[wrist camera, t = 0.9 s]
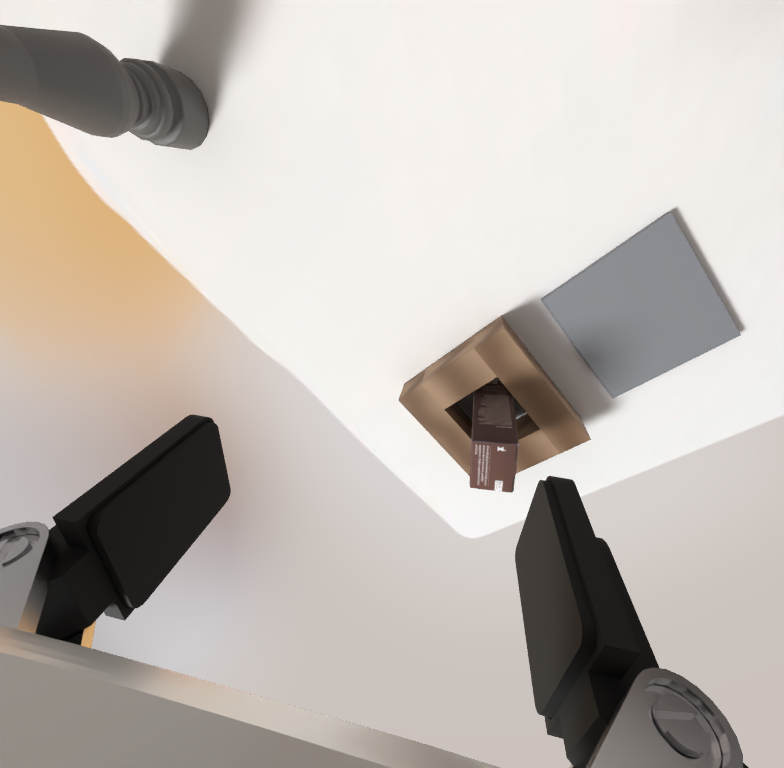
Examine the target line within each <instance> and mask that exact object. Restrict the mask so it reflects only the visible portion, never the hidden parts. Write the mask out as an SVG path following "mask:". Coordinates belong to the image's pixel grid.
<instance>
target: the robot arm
mask: <svg viewBox="0 0 784 768" xmlns="http://www.w3.org/2000/svg"><path fill="white" fill-rule="evenodd" d="M230 491H231V490H230V484H229V480H228V474H227V469H226V464H225V459H224V454H223V449H222V444H221V439H220V435H219V430H218V426H217V425H216V424H215V423H214V421H213V420H212V419H211V418H209V417H203V416H197V415H189V416H187V417H186V418H184V419H183V420H182V421H180V422H179V423H178V424H177V425H175V426H174V427H172V428H171V429H170V430H169V431H167V432H166V433H164V434H163V435H162V436H161V437H159V438H158V439H156V440H155V441H154V442H152V443H151V444H150V445H148V446H147V447H146V448H144V449H143V450H142V451H141V452H139V453H138V454H137V455H135V456H134V457H132V458H131V459H130V460H128V461H127V462H126V463H124V464H123V465H122V466H120V467H119V468H118V469H116V470H115V471H114V472H112V473H111V474H110V475H108V476H107V477H106V478H104V479H103V480H102V481H100V482H99V483H98V484H96V485H95V486H94V487H92V488H91V489H90V490H89V491H87V492H86V493H84V494H83V495H82V496H80V497H79V498H78V499H76V500H75V501H74V502H72V503H71V504H70V505H69V506H67V507H66V508H64V509H63V510H62V511H60V512H59V513H58V514H56V515H55V516H54V517H53V519H54V521H55V523H56V525H55V526H54V527H53V528H51V529H50V530H49V529H48V528H47V526H46V525H45V524H42V523H39V522H25V523H19V524H14V525H12V526H8V527H6V528H3V529H0V768H499V767H496V766H493V765H490V764H487V763H484V762H480V761H477V760H474V759H471V758H467V757H464V756H461V755H458V754H455V753H452V752H448V751H445V750H442V749H439V748H436V747H433V746H429V745H426V744H422V743H419V742H416V741H412V740H409V739H405V738H402V737H398V736H395V735H392V734H388V733H385V732H382V731H378V730H374V729H371V728H368V727H364V726H361V725H358V724H354V723H351V722H347V721H344V720H340V719H337V718H334V717H330V716H327V715H323V714H320V713H317V712H313V711H309V710H306V709H303V708H299V707H296V706H292V705H289V704H285V703H281V702H278V701H275V700H271V699H268V698H264V697H261V696H257V695H254V694H250V693H247V692H243V691H240V690H236V689H233V688H230V687H226V686H223V685H219V684H215V683H212V682H209V681H205V680H201V679H198V678H195V677H191V676H188V675H184V674H181V673H177V672H173V671H170V670H166V669H162V668H159V667H156V666H152V665H148V664H145V663H141V662H137V661H134V660H130V659H127V658H124V657H120V656H116V655H113V654H109V653H106V652H102V651H99V650H95V649H91V646H92V641H93V634H94V628H95V622H96V619H97V618H98V617H99V616H100V615H101V614H102V613H103V612H104V613H105V615H106V616H110V617H114V618H117V619H121V620H126V618H127V617H128V616H129V615H130V614H131V612H132V611H133V610H134V609H135V608H138V607H140V606H141V605H143V604H144V602H145V601H146V600H147V599H148V598H149V597H150V595H151V594H152V593H153V592H154V591H155V589H156V588H157V587H158V585H159V584H160V583H161V582H162V581H163V579H164V578H165V577H166V576H167V574H168V573H169V572H170V571H171V570H172V568H173V567H174V566H175V565H176V564H177V562H178V561H179V560H180V558H181V557H182V556H183V555H184V554H185V552H186V551H187V550H188V549H189V548H190V546H191V545H192V544H193V543H194V541H195V540H196V539H197V538H198V536H199V535H200V534H201V533H202V532H203V530H204V529H205V528H206V527H207V525H208V524H209V523H210V522H211V520H212V519H213V518H214V517H215V516H216V514H217V513H218V512H219V511H220V509H221V508H222V507H223V506H224V504H225V503H226V502H227V500H228V498H229V496H230ZM515 561H516V569H517V576H518V584H519V591H520V598H521V605H522V612H523V620H524V627H525V635H526V642H527V649H528V657H529V663H530V671H531V678H532V686H533V693H534V700H535V706H536V710H537V712H538V714H540V715H543V716H545V722H546V728H547V734H548V735H552V736H555V737H559V738H563V739H564V744H565V750H566V756H567V758H568V760H569V761H570V762H571V764H572V765H571V767H570V768H748V767H747V766H746V765H745V764H744V763H743V754H742V751H741V748H740V745H739V742H738V739H737V736H736V735H735V733H734V731H733V729H732V728H731V726H730V724H729V722H728V721H727V719H726V717H725V716H724V715H723V714H722V712H721V711H720V710H719V709H718V707H717V706H716V705H715V704H714V702H713V701H712V700H711V699H710V698H709V697H707V696H706V695H705V694H704V693H703V692H702V691H701V690H700V689H699V688H698V687H697V686H695V685H694V684H692V683H691V682H689V681H688V680H687V679H685V678H684V677H682V676H680V675H678V674H676V673H673V672H671V671H669V670H667V669H660V668H659V666H658V664H657V661H656V659H655V656H654V654H653V652H652V649H651V647H650V644H649V642H648V640H647V637H646V635H645V632H644V630H643V627H642V625H641V623H640V621H639V618H638V615H637V613H636V611H635V609H634V606H633V604H632V601H631V599H630V596H629V594H628V592H627V589H626V587H625V584H624V582H623V580H622V577H621V575H620V572H619V570H618V568H617V565H616V563H615V560H614V558H613V556H612V553H611V551H610V548H609V547H608V545H607V543H606V542H605V541H604V540H603V539H601V538H597V537H595V534H594V531H593V529H592V526H591V524H590V521H589V519H588V516H587V513H586V511H585V508H584V506H583V503H582V501H581V498H580V496H579V493H578V490H577V488H576V485H575V483H574V481H573V480H570V479H565V478H559V477H553V476H548V477H547V479H546V481H543V480H540V481H539V483H538V485H537V488H536V491H535V494H534V497H533V500H532V503H531V506H530V509H529V512H528V515H527V517H526V520H525V523H524V526H523V529H522V532H521V535H520V538H519V541H518V544H517V547H516V553H515Z"/></svg>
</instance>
